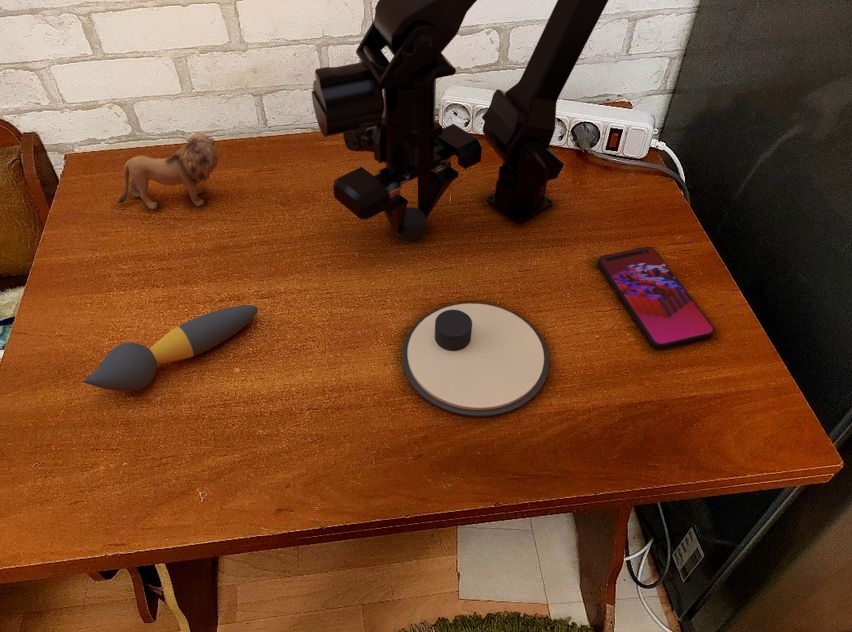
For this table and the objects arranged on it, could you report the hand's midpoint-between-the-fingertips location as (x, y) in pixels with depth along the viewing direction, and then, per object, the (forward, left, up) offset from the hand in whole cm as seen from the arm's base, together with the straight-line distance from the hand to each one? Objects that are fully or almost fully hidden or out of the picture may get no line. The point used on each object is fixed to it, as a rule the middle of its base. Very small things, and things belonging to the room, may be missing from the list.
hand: (410, 225), depth 88 cm
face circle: (+8, +21, -1) cm, 22 cm away
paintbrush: (+33, 0, -1) cm, 33 cm away
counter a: (+9, +18, 0) cm, 20 cm away
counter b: (0, 0, -1) cm, 1 cm away
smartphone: (-14, +28, -1) cm, 31 cm away
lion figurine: (+20, -26, -1) cm, 33 cm away
